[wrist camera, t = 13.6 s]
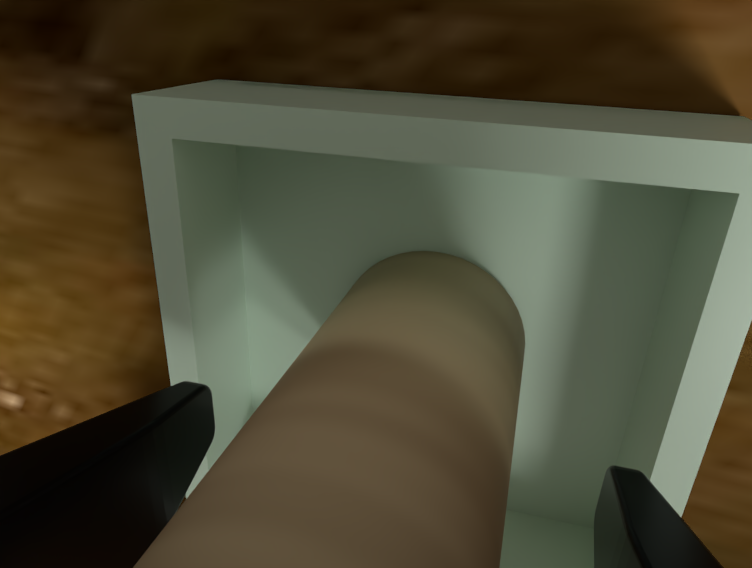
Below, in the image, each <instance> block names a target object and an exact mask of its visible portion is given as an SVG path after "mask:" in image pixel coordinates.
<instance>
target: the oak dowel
mask: <svg viewBox="0 0 752 568" xmlns="http://www.w3.org/2000/svg"><path fill="white" fill-rule="evenodd" d="M524 352H525V332H524V327H523V323H522V319H521V317H520V314H519V311H518V309H517V307H516V305H515V303H514V302H513V300H512V298H511V297H510V295H509V294H508V293H507V291H506V290H505V289H504V288H503V287H502V286H501V285H500V283H499V282H498V281H497V280H496V279H494V278H493V277H492V276H491V275H490V274H488V273H487V272H486V271H484V270H483V269H481V268H480V267H478V266H476V265H475V264H473V263H471V262H469V261H466V260H464V259H462V258H459V257H456V256H453V255H450V254H445V253H440V252H433V251H412V252H406V253H400V254H397V255H394V256H391V257H388V258H386V259H384V260H382V261H380V262H378V263H376V264H375V265H373V266H372V267H370V268H369V269H368V270H367V271H366V272H365V273H363V274H362V275H361V276H360V278H359V279H358V280H357V281H356V283H355V284H354V285H353V286H352V288H351V289H350V290H349V291H348V293H347V294H346V295H345V297H344V298H343V299H342V300H341V302H340V303H339V304H338V306H337V307H336V308H335V309H334V311H333V312H332V313H331V315H330V316H329V317H328V318H327V320H326V321H325V322H324V323H323V325H322V326H321V327H320V329H319V330H318V331H317V332H316V334H315V335H314V336H313V338H312V339H311V340H310V341H309V343H308V344H307V345H306V347H305V348H304V349H303V350H302V352H301V353H300V354H299V356H298V357H297V358H296V359H295V361H294V362H293V363H292V364H291V366H290V367H289V368H288V370H287V371H286V372H285V373H284V375H283V376H282V377H281V379H280V380H279V381H278V382H277V384H276V385H275V386H274V388H273V389H272V390H271V391H270V393H269V394H268V395H267V397H266V398H265V399H264V400H263V402H262V403H261V404H260V406H259V407H258V408H257V409H256V411H255V412H254V413H253V414H252V416H251V417H250V418H249V420H248V421H247V422H246V423H245V425H244V426H243V427H242V429H241V430H240V431H239V432H238V434H237V435H236V436H235V438H234V439H233V440H232V441H231V443H230V444H229V445H228V447H227V448H226V449H225V450H224V452H223V453H222V454H221V455H220V457H219V458H218V459H217V461H216V462H215V463H214V464H213V466H212V467H211V468H210V470H209V471H208V472H207V473H206V475H205V476H204V477H203V479H202V480H201V481H200V482H199V484H198V485H197V486H196V488H195V489H194V490H193V491H192V493H191V494H190V495H189V496H188V498H187V499H186V500H185V502H184V503H183V504H182V505H181V507H180V508H179V509H178V511H177V512H176V513H175V514H174V516H173V517H172V518H171V520H170V521H169V522H168V523H167V525H166V526H165V527H164V529H163V530H162V531H161V532H160V534H159V535H158V536H157V538H156V539H155V540H154V541H153V543H152V544H151V545H150V546H149V548H148V549H147V550H146V552H145V553H144V554H143V555H142V557H141V558H140V559H139V561H138V562H137V563H136V564H135V566H134V567H133V568H499V567H500V558H501V550H502V541H503V533H504V524H505V515H506V507H507V498H508V490H509V481H510V473H511V464H512V456H513V447H514V438H515V430H516V421H517V413H518V404H519V396H520V387H521V378H522V370H523V361H524Z"/></svg>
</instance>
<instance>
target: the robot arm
mask: <svg viewBox="0 0 752 568" xmlns="http://www.w3.org/2000/svg"><path fill="white" fill-rule="evenodd" d="M214 434H215V419H214V409H213V399H212V392H211V389H210V388H209V387H208V386H207V385H205V384H200V383H195V382H190V381H183V382H180V383H177V384H175V385H172V386H170V387H167V388H165V389H163V390H160V391H158V392H155V393H153V394H150V395H148V396H145V397H143V398H141V399H138V400H136V401H133V402H131V403H128V404H126V405H123V406H121V407H118V408H116V409H114V410H111V411H109V412H106V413H104V414H101V415H99V416H96V417H94V418H91V419H89V420H87V421H84V422H82V423H79V424H77V425H74V426H72V427H69V428H67V429H64V430H62V431H60V432H57V433H55V434H52V435H50V436H47V437H45V438H42V439H40V440H37V441H35V442H33V443H30V444H28V445H25V446H23V447H20V448H18V449H15V450H13V451H10V452H8V453H6V454H3V455H1V456H0V568H133V567H134V566H135V564H136V563H137V562H138V561H139V559H140V558H141V557H142V555H143V554H144V553H145V552H146V550H147V549H148V548H149V546H150V545H151V544H152V543H153V541H154V540H155V539H156V538H157V536H158V535H159V534H160V532H161V531H162V530H163V529H164V527H165V526H166V525H167V523H168V522H169V521H170V520H171V518H172V517H173V516H174V514H175V513H176V512H177V510H178V508H179V506H180V504H181V502H182V500H183V498H184V496H185V494H186V492H187V490H188V488H189V486H190V484H191V482H192V480H193V479H194V477H195V475H196V473H197V471H198V469H199V467H200V465H201V463H202V461H203V459H204V457H205V455H206V453H207V451H208V449H209V447H210V445H211V443H212V441H213V438H214ZM594 568H723V567H722V565H721V564H720V563H719V562H718V561H717V559H716V558H715V557H714V556H713V555H712V553H711V552H710V551H709V550H708V549H707V548H706V546H705V545H704V544H703V543H702V542H701V540H700V539H699V538H698V537H697V536H696V535H695V533H694V532H693V531H692V530H691V529H690V527H689V526H688V525H687V524H686V523H685V522H684V520H683V519H682V518H681V517H680V516H679V514H678V513H677V512H676V511H675V510H674V508H673V507H672V506H671V505H670V504H669V503H668V501H667V500H666V499H665V498H664V497H663V495H662V494H661V493H660V492H659V491H658V490H657V488H656V487H655V486H654V485H653V484H652V482H651V481H650V480H649V479H648V478H647V477H646V475H645V474H644V473H642V472H641V471H639V470H636V469H631V468H626V467H621V466H616V465H612V466H610V467H608V469H607V470H606V473H605V476H604V480H603V484H602V488H601V491H600V495H599V499H598V503H597V506H596V510H595V517H594Z"/></svg>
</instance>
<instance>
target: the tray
mask: <svg viewBox="0 0 752 568" xmlns="http://www.w3.org/2000/svg"><path fill="white" fill-rule="evenodd" d="M131 96H132V103H133V110H134V118H135V125H136V133H137V140H138V147H139V155H140V162H141V169H142V177H143V184H144V192H145V199H146V206H147V214H148V221H149V229H150V236H151V243H152V251H153V258H154V265H155V273H156V280H157V288H158V295H159V302H160V310H161V317H162V324H163V332H164V339H165V347H166V354H167V361H168V369H169V376H170V383H171V386H172V385H175V384H177V383H180V382H183V381H190V382H195V383H200V384H205V385H207V386H208V387H209V388H210V389H211V392H212V399H213V409H214V419H215V434H214V438H213V441H212V443H211V445H210V447H209V449H208V451H207V453H206V455H205V457H204V459H203V461H202V463H201V465H200V467H199V469H198V471H197V473H196V475H195V477H194V479H193V480H192V482H191V484H190V486H189V488H188V490H187V492H186V499H187V498H188V496H189V495H190V494H191V493H192V491H193V490H194V489H195V488H196V486H197V485H198V484H199V482H200V481H201V480H202V479H203V477H204V476H205V475H206V473H207V472H208V471H209V470H210V468H211V467H212V466H213V464H214V463H215V462H216V461H217V459H218V458H219V457H220V455H221V454H222V453H223V452H224V450H225V449H226V448H227V447H228V445H229V444H230V443H231V441H232V440H233V439H234V438H235V436H236V435H237V434H238V432H239V431H240V430H241V429H242V427H243V426H244V425H245V423H246V422H247V421H248V420H249V418H250V417H251V416H252V414H253V413H254V412H255V411H256V409H257V408H258V407H259V406H260V404H261V403H262V402H263V400H264V399H265V398H266V397H267V395H268V394H269V393H270V391H271V390H272V389H273V388H274V386H275V385H276V384H277V382H278V381H279V380H280V379H281V377H282V376H283V375H284V373H285V372H286V371H287V370H288V368H289V367H290V366H291V364H292V363H293V362H294V361H295V359H296V358H297V357H298V356H299V354H300V353H301V352H302V350H303V349H304V348H305V347H306V345H307V344H308V343H309V341H310V340H311V339H312V338H313V336H314V335H315V334H316V332H317V331H318V330H319V329H320V327H321V326H322V325H323V323H324V322H325V321H326V320H327V318H328V317H329V316H330V315H331V313H332V312H333V311H334V309H335V308H336V307H337V306H338V304H339V303H340V302H341V300H342V299H343V298H344V297H345V295H346V294H347V293H348V291H349V290H350V289H351V288H352V286H353V285H354V284H355V283H356V281H357V280H358V279H359V278H360V276H361V275H362V274H363V273H365V272H366V271H367V270H368V269H369V268H370V267H372V266H373V265H375V264H376V263H378V262H380V261H382V260H384V259H386V258H388V257H391V256H394V255H397V254H400V253H406V252H412V251H433V252H440V253H445V254H450V255H453V256H456V257H459V258H462V259H464V260H466V261H469V262H471V263H473V264H475V265H476V266H478V267H480V268H481V269H483V270H484V271H486V272H487V273H488V274H490V275H491V276H492V277H493V278H494V279H496V280H497V281H498V282H499V283H500V285H501V286H502V287H503V288H504V289H505V290H506V291H507V293H508V294H509V295H510V297H511V298H512V300H513V302H514V303H515V305H516V307H517V309H518V311H519V314H520V317H521V319H522V323H523V327H524V332H525V352H524V361H523V370H522V378H521V387H520V396H519V404H518V413H517V421H516V430H515V438H514V447H513V456H512V464H511V473H510V481H509V490H508V498H507V507H506V515H505V524H504V533H503V541H502V550H501V558H500V567H499V568H594V517H595V510H596V506H597V503H598V499H599V495H600V491H601V488H602V484H603V480H604V476H605V473H606V470H607V469H608V467H610V466H612V465H616V466H621V467H626V468H631V469H636V470H639V471H641V472H642V473H644V474H645V475H646V477H647V478H648V479H649V480H650V481H651V482H652V484H653V485H654V486H655V487H656V488H657V490H658V491H659V492H660V493H661V494H662V495H663V497H664V498H665V499H666V500H667V501H668V503H669V504H670V505H671V506H672V507H673V508H674V510H675V511H676V512H677V513H678V514H679V516H680V517H682V514H683V511H684V509H685V506H686V503H687V500H688V497H689V495H690V492H691V489H692V486H693V483H694V480H695V478H696V475H697V472H698V469H699V466H700V464H701V461H702V458H703V455H704V452H705V450H706V447H707V444H708V441H709V438H710V436H711V433H712V430H713V427H714V424H715V422H716V419H717V416H718V413H719V410H720V408H721V405H722V402H723V399H724V396H725V394H726V391H727V388H728V385H729V382H730V379H731V377H732V374H733V371H734V368H735V365H736V363H737V360H738V357H739V354H740V351H741V349H742V346H743V343H744V340H745V337H746V335H747V332H748V329H749V326H750V323H751V321H752V120H750V119H748V118H746V117H744V116H730V115H716V114H702V113H688V112H674V111H660V110H645V109H631V108H617V107H603V106H589V105H575V104H561V103H546V102H532V101H518V100H504V99H490V98H476V97H462V96H447V95H433V94H419V93H405V92H391V91H377V90H362V89H348V88H334V87H320V86H306V85H292V84H278V83H263V82H249V81H235V80H221V79H216V80H211V81H205V82H199V83H194V84H188V85H182V86H176V87H171V88H165V89H159V90H154V91H148V92H142V93H136V94H131Z"/></svg>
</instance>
